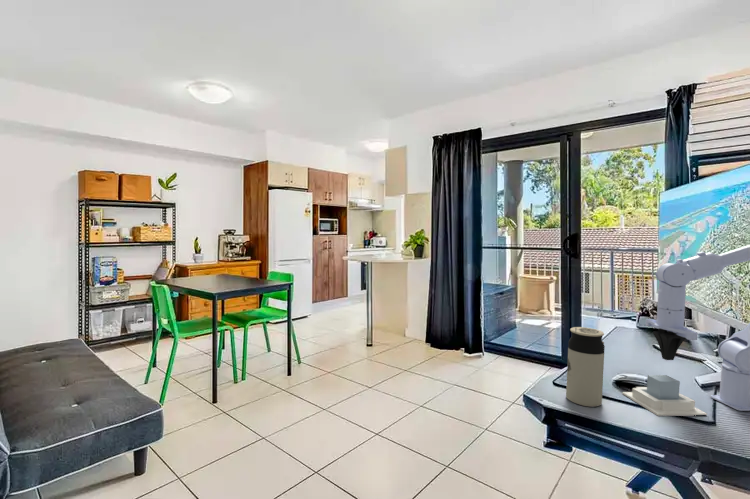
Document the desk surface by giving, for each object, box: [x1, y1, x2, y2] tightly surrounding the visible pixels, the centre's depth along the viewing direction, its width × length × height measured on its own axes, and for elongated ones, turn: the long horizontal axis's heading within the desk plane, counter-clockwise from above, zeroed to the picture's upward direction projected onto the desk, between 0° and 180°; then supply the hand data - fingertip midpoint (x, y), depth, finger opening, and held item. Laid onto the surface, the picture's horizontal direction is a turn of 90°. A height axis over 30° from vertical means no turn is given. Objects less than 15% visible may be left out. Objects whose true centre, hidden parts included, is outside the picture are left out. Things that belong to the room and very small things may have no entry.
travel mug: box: [565, 326, 606, 408], centre depth 96 cm, size 8×8×18 cm
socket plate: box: [621, 386, 708, 417], centre depth 95 cm, size 12×12×2 cm
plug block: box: [646, 374, 681, 400], centre depth 95 cm, size 5×4×6 cm
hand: (667, 359), depth 101 cm, fingers closed
